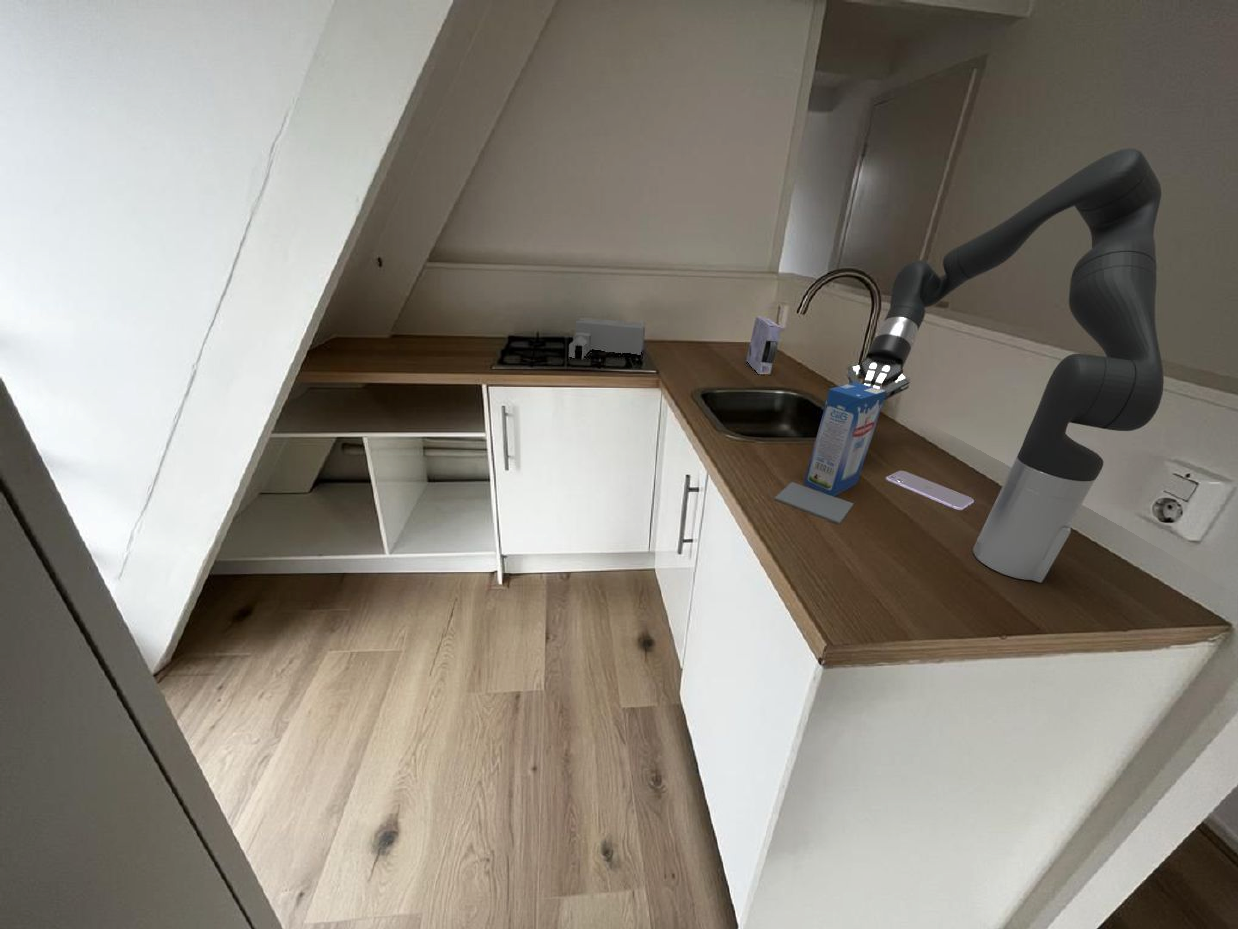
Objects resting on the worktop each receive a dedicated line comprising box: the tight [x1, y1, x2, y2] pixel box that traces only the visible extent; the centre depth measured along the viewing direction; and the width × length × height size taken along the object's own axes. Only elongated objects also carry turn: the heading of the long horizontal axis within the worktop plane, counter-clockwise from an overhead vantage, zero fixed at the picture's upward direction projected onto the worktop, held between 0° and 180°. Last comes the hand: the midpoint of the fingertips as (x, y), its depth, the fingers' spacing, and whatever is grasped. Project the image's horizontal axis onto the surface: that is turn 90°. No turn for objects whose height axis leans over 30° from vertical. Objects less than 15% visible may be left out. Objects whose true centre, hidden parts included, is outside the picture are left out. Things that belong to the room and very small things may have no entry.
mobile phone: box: [885, 470, 975, 511], centre depth 101 cm, size 8×1×15 cm
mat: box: [774, 481, 854, 525], centre depth 92 cm, size 12×9×1 cm
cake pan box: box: [745, 315, 782, 375], centre depth 177 cm, size 19×5×18 cm, turn 0°
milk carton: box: [803, 382, 887, 497], centre depth 96 cm, size 10×6×20 cm, turn 130°
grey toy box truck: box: [568, 317, 646, 360], centre depth 183 cm, size 25×23×11 cm
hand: (861, 411), depth 101 cm, fingers closed
